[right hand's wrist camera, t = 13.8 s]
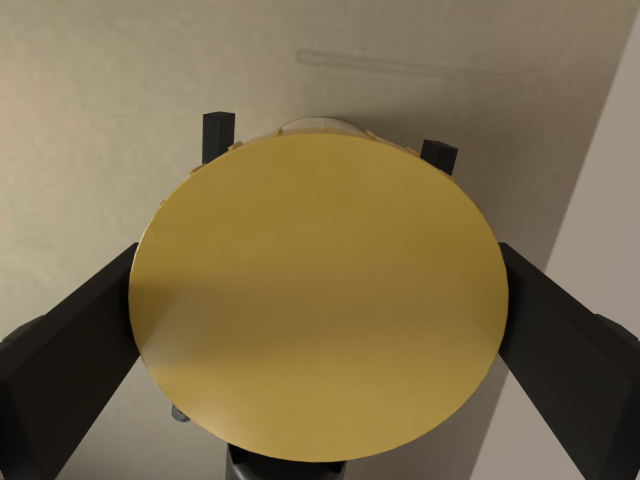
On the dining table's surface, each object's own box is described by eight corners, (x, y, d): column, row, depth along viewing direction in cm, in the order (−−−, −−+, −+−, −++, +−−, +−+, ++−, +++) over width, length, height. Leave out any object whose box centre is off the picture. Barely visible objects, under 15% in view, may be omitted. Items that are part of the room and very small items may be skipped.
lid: (190, 430, 14) (173, 473, 12) (110, 141, 10) (72, 150, 9) (474, 412, 14) (494, 453, 12) (499, 108, 10) (533, 110, 8)
